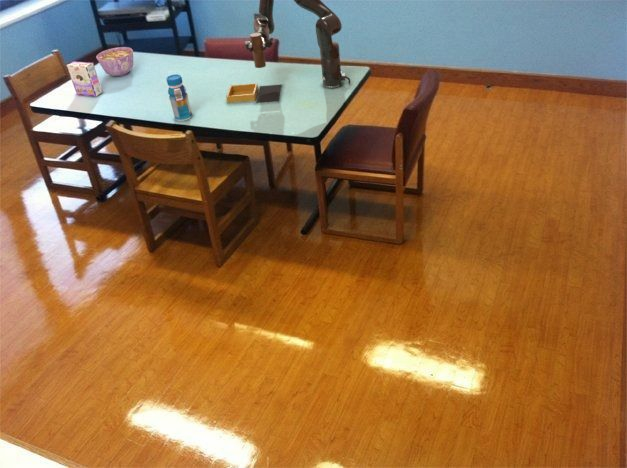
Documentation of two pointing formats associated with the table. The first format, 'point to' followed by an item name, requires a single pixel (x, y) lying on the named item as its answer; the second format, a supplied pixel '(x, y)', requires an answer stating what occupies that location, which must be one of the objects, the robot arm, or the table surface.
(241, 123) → the table surface
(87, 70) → the candy box
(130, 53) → the bowl of food
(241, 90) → the bin
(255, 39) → the brown cylinder
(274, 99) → the mat
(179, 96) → the beverage bottle
